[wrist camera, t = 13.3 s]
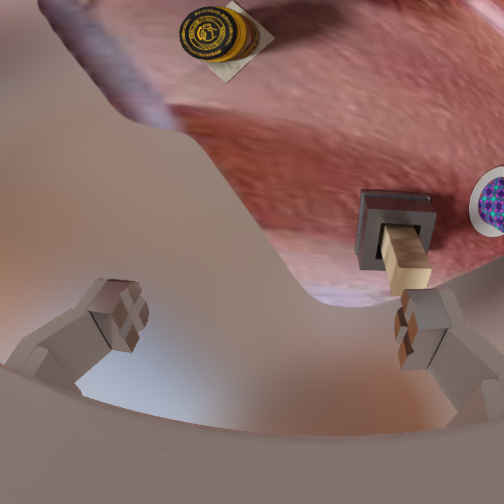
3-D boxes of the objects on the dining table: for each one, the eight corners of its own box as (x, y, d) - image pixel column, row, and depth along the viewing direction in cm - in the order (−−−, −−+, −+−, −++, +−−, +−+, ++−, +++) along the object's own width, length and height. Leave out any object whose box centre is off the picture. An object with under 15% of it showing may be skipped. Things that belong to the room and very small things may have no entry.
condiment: (275, 38, 31) (261, 31, 22) (226, 83, 36) (194, 96, 26) (232, 0, 29) (201, -18, 19) (186, 47, 33) (140, 49, 24)
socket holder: (428, 194, 39) (439, 211, 35) (415, 252, 45) (423, 273, 41) (360, 189, 41) (365, 206, 37) (354, 250, 46) (357, 271, 42)
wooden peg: (407, 215, 40) (432, 268, 31) (403, 239, 43) (423, 295, 33) (381, 213, 41) (399, 267, 32) (377, 238, 43) (392, 295, 34)
